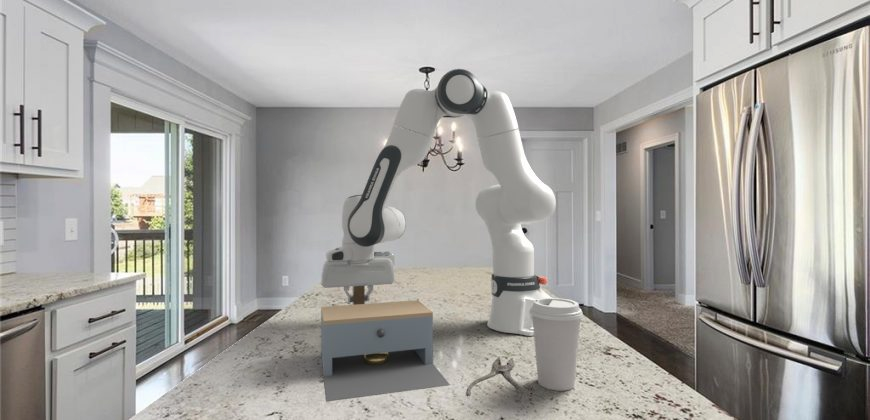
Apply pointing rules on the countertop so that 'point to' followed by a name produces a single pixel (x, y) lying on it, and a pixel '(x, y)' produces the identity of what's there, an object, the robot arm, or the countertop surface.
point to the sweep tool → (358, 295)
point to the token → (376, 358)
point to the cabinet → (375, 330)
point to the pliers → (497, 369)
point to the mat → (380, 376)
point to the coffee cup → (556, 341)
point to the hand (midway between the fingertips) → (358, 301)
